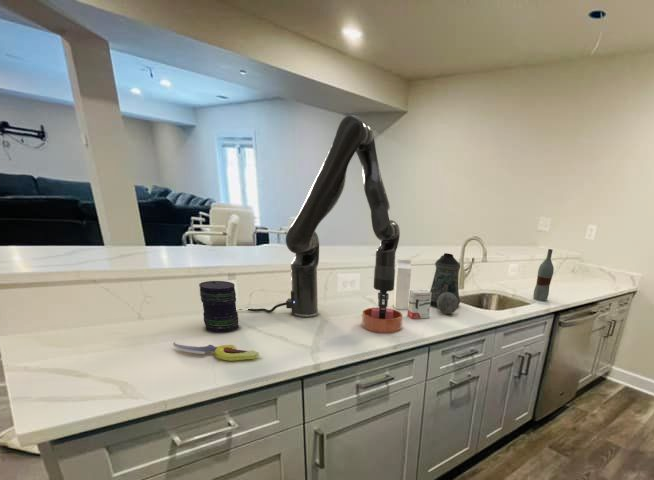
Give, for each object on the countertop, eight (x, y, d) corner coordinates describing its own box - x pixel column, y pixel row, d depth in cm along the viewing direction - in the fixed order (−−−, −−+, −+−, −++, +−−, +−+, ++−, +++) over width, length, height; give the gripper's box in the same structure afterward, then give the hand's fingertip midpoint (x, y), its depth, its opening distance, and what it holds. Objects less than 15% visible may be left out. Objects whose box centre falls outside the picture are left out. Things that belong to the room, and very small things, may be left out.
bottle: (548, 302, 231) (559, 251, 219) (533, 300, 230) (544, 249, 219) (545, 298, 239) (556, 249, 228) (531, 296, 239) (541, 247, 227)
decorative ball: (457, 312, 185) (459, 291, 181) (456, 317, 175) (458, 296, 171) (436, 309, 184) (439, 288, 181) (434, 315, 175) (436, 293, 171)
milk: (408, 309, 178) (411, 261, 169) (394, 308, 176) (398, 260, 167) (406, 305, 183) (410, 259, 174) (393, 305, 181) (396, 258, 172)
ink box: (412, 319, 165) (414, 292, 161) (407, 315, 169) (409, 289, 164) (429, 318, 170) (432, 292, 165) (424, 314, 174) (426, 289, 169)
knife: (159, 354, 106) (251, 365, 107) (158, 345, 105) (250, 356, 106) (179, 344, 113) (264, 354, 115) (177, 336, 112) (263, 346, 114)
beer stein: (442, 311, 183) (448, 258, 173) (416, 300, 194) (420, 250, 184) (466, 307, 194) (472, 257, 185) (439, 297, 206) (444, 250, 196)
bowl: (361, 332, 143) (361, 318, 141) (362, 319, 156) (363, 306, 154) (402, 334, 146) (403, 320, 144) (400, 321, 160) (401, 309, 158)
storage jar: (243, 330, 129) (239, 287, 124) (210, 335, 123) (204, 289, 117) (233, 321, 135) (228, 280, 130) (200, 325, 128) (194, 281, 123)
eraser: (371, 321, 146) (371, 310, 144) (371, 318, 150) (371, 307, 148) (392, 323, 148) (393, 312, 146) (392, 319, 152) (392, 309, 150)
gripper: (374, 271, 147) (372, 314, 154) (373, 279, 135) (371, 325, 141) (393, 273, 149) (391, 315, 156) (395, 281, 137) (392, 327, 143)
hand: (381, 320), depth 149 cm, fingers closed on eraser, 4 cm apart
